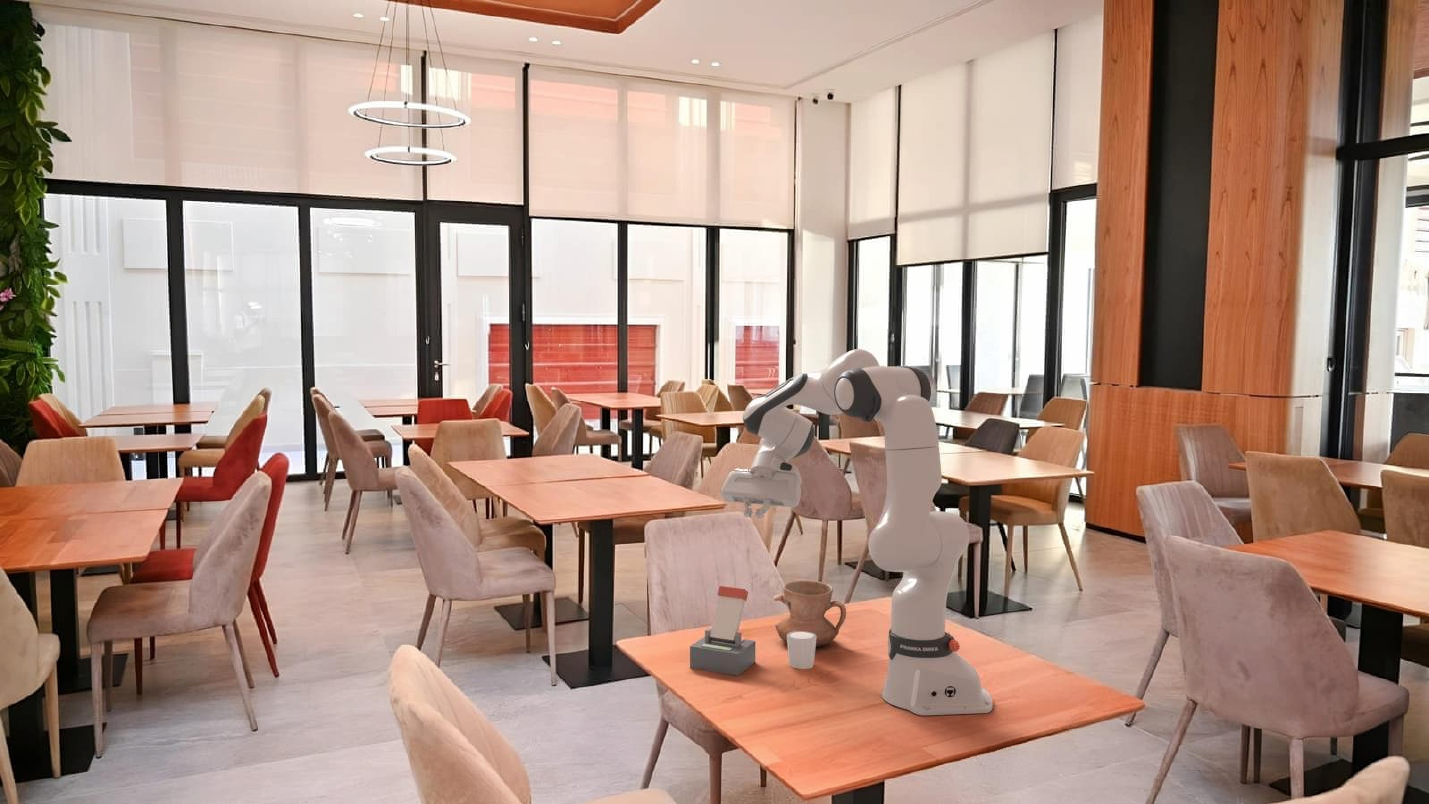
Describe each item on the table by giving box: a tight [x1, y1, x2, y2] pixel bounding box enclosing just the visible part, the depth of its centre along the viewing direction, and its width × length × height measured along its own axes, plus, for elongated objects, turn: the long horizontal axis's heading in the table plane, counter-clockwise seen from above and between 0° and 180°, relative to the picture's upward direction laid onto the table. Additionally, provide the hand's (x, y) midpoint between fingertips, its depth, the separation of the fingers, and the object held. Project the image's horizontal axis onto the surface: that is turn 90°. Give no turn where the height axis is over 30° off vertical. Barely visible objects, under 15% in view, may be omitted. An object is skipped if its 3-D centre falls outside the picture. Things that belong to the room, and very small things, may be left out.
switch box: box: [689, 627, 756, 677], centre depth 221 cm, size 10×12×8 cm
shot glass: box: [786, 631, 817, 670], centre depth 221 cm, size 7×7×7 cm
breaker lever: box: [710, 585, 749, 644], centre depth 223 cm, size 3×6×13 cm, turn 65°
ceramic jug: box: [773, 579, 847, 648], centre depth 237 cm, size 18×14×14 cm
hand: (752, 516), depth 236 cm, fingers closed
